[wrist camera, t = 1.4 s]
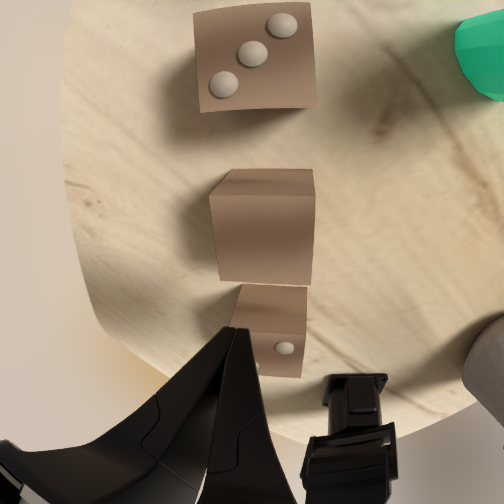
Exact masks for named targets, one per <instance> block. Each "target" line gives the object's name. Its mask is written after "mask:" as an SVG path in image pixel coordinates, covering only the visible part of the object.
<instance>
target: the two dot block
mask: <svg viewBox="0 0 504 504" xmlns="http://www.w3.org/2000/svg"><path fill="white" fill-rule="evenodd" d="M306 321H307V287H291V286H271V285H253V284H242V287H241V290H240V293H239V296H238V300H237V303H236V306H235V309H234V312H233V316H232V319H231V322H230V325H229V327H236V328H238V327H240V328H248V329H249V330H250V335H251V340H252V345H253V351H254V356H255V362H256V367H257V372H258V375H262V376H275V377H289V378H301V371H302V364H303V356H304V348H305V340H306Z"/></svg>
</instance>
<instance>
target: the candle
mask: <svg viewBox="0 0 504 504" xmlns="http://www.w3.org/2000/svg"><path fill="white" fill-rule="evenodd" d="M454 51H455V54H456V56H457V59H458V62H459V64H460V67H461V70H462V73H463V74H464V75H465V77H466V78H467V79H468V80H469V82H470V83H471V84H472V85H473V87H474V88H475V89H476V91H477V92H479V93H481V94H483V95H485V96H487V97H489V98H491V99H492V100H497V101H502V102H504V9H502V10H498V11H494V12H490V13H487V14H483V15H480V16H476V17H473V18H470V19H467V20H464V21H463V22H462V23H461V25H460V26H459V27H458V28H457V30H456V31H455V49H454Z"/></svg>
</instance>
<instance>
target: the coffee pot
mask: <svg viewBox="0 0 504 504" xmlns="http://www.w3.org/2000/svg"><path fill="white" fill-rule="evenodd" d="M462 382H463V384H464V386H465V388H466V389H467V390H468V391H469V392H470V393H471V394H472V395H473V396H474V397H475V398H476V399H477V400H478V401H479V402H480V403H481V404H482V405H483V406H484V407H485V408H486V409H487V410H488V411H489V412H490V413H491V414H492V415H493V416H494V418H496V420H497V421H498V422H499V423H500V424H501V425H502V426H503V427H504V316H503V317H501V318H499V319H497V320H496V321H494V322H493V323H491V324H490V325H489V326H488V327H487V328H486V329H484V330H483V331H482V333H481V334H480V335H479V336H478V337H477V338H476V340H475V341H474V343H473V345H472V347H471V349H470V352H469V354H468V356H467V359H466V361H465V363H464V367H463V375H462ZM503 449H504V447H503Z"/></svg>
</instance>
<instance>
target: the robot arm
mask: <svg viewBox="0 0 504 504" xmlns="http://www.w3.org/2000/svg"><path fill="white" fill-rule="evenodd" d="M387 380H388V375H387V374H374V375H332V376H330V377H329V380H328V384H327V387H326V391H325V394H324V398H323V401H322V405H323V406H329V415H328V435H327V436H319V437H316V436H313V437H310V440H309V443H308V446H307V450H306V454H305V458H304V462H303V466H302V469H301V473H300V478H301V479H302V484H303V487H304V489H305V490H306V501H305V504H386V503H387V501H388V500H389V498H390V496H391V481H392V480H397V479H398V454H397V441H396V432H395V424H394V422H391V423H389V424H386V425H382V415H381V405H380V396H379V395H380V393H381V391H382V389H383V388H384V386H385V384H386V382H387ZM389 442H390V444H389V445H384V443H389ZM206 469H207V471H206ZM205 471H206V473H207V475H206V478H205V482H204V487H203V490H202V493H201V495H200V498H199V500H198V502H197V504H297V502H296V500H295V498H294V496H293V494H292V491H291V489H290V487H289V484H288V482H287V479H286V477H285V474H284V472H283V469H282V467H281V465H280V462H279V459H278V457H277V454H276V451H275V448H274V446H273V443H272V440H271V436H270V432H269V428H268V423H267V418H266V414H265V409H264V404H263V399H262V393H261V388H260V383H259V378H258V372H257V367H256V362H255V356H254V351H253V345H252V340H251V335H250V330H249V329H248V328H240V327H238V328H236V327H229V326H224V327H223V328H222V329H221V330H220V331H219V332H218V333H217V334H216V335H215V336H214V337H213V338H212V339H211V340H210V341H209V342H208V343H207V344H206V345H205V346H204V347H203V348H202V349H201V350H200V351H199V352H198V353H196V354H195V355H194V356H193V357H192V358H191V359H190V360H189V361H188V362H187V363H186V364H185V365H184V366H183V367H182V368H181V369H180V370H179V371H178V372H177V373H176V374H175V375H174V376H173V377H172V378H171V379H170V380H169V381H168V382H167V383H166V384H165V385H163V386H162V387H161V388H160V389H159V390H158V391H157V392H156V394H154V395H153V396H152V397H151V398H150V399H148V400H147V401H146V402H145V403H144V404H143V405H142V406H141V407H139V408H138V409H137V410H136V411H135V412H133V413H132V414H131V415H130V416H128V417H127V418H126V419H124V420H123V421H122V422H120V423H119V424H117V425H116V426H114V427H113V428H112V429H110V430H109V431H107V432H106V433H105V434H103V435H102V436H100V437H99V438H97V439H96V440H94V441H92V442H90V443H88V444H85V445H82V446H77V447H71V448H64V449H56V450H48V451H37V452H26V451H23V450H21V449H20V448H19V447H17V446H16V445H14V444H13V443H12V442H10V441H9V440H6V439H5V440H1V441H0V504H195V501H196V498H197V496H198V492H199V489H200V487H201V484H202V481H203V477H204V475H205Z"/></svg>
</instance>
